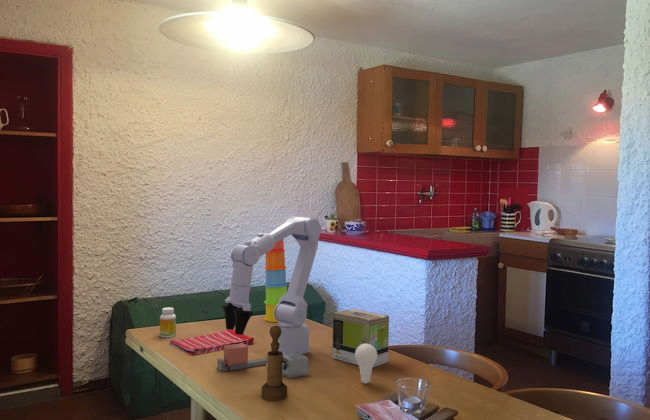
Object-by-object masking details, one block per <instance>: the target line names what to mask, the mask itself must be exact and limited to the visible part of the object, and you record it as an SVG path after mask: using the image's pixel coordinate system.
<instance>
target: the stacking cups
mask: <svg viewBox="0 0 650 420" xmlns="http://www.w3.org/2000/svg"><path fill="white" fill-rule="evenodd" d="M269 233H270V232H269ZM269 233H267V234H269ZM284 245H285V243H284V239H282V240H280V241H278V242H276V243H274V247H273V249H272V250H270V251H269V252H267V253H265V266H264V270H265V283H264V287H265V300H264V301H263V302H264V303H263V304H265V316H264V317H263V320H265V322H270V323H277V320H276V319H275V317H274V309H275V307H276V305H277V304H278V303H279V300H280V298H281V297H282V296H283V295H285V294H286V293H287V291H288V287H287V286H289V285H288V283H287V276H286V274H287V273H286V269H287V266H286V261H285V260H286V259H285V258H286V257H285V252H286V250H285V246H284Z"/></svg>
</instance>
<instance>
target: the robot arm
mask: <svg viewBox="0 0 650 420" xmlns="http://www.w3.org/2000/svg"><path fill="white" fill-rule="evenodd" d="M321 232H322V226H321V223H320V221H319V220H318V218H316V217H306V216H297V215H293V216H291V217H290V218H287V219H286V221H285V222H284V223H283V224H281V225H279V226H278V227H276V228H275V229H274V230H273V231H270V232H269V234H268V233H267V232H259V233H257V234H256V236H255V237H254V238H252V239H250V240H247V241H246V242H245V243H244V244H238V245H236V246H235V247H234V248H233V250H232V252H231V253H230V258H231V262H232V273H231V274H232V276H231V282H230V289H229V296H226V298H225V299H224V302H225V304H222V305H221V306H222V310H223V312H224V320H225V328H226V330H229V329H230V330H235V334H238V335H243V334H244V333H245V331H246V327H247V325H248V322H249V321H250V319H251V318H252V316H253V315H254V311H253V310H251V309H252V308H251V307H252V304H251V303H250V301H249V299H250V292H251V286H252V285H251V284H252V280H253V279H252V277H253V271H254V265H256V264H257V263H258V261H259V259H260V258H261V257H262V256H264V255H266V253H267V252H269V251H270V250H272V249H273V247H274V243H276V242H278V241H280V240H282V239H283V240H284V239H285V238H287V237H289V236H292V238H293V239H294V240H295V241H296V242H297V243H298V246H300V248H299V251H298V255H297V258H296V261H295V264H294V267H293V270H292V271H293V272H292V275H291V277H290V281H289V285H288V287H287V293H286V294H285V295H283V296H282V297H281V298H280V300H279V303H278V304H277V305H276V307H275V309H274V317H275V319H276V320H277V322H276V324H277V325H278V326H279V327H280V328H281V335H280V337H279V339H278V343H279V344H280V346H279V350H278V351H281V352H282V353H283V354H289V353H296V352H299V353H301V354H302V355H304V354H310V352H311V351H310V331H309V330H310V329H309V327H308V325H307V324H306V323H305V322H306V319H307V316H308V315H307V314H308V313H307V309H308V303H307V302H306V300H305V298H304V295H305V293H306V292H305V291H306V289H307V285H308V283H309V279H310V275H311V271H312V269H313V264H314V261H315V257H316V255H317V251H318V246H319V239H320V236H321Z"/></svg>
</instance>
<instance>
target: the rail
mask: <svg viewBox="0 0 650 420" xmlns="http://www.w3.org/2000/svg"><path fill="white" fill-rule="evenodd" d="M266 365H267V357H262V358H256V359H248V364H247V368H251V367H253V368H254V367H260V366H266ZM247 368H246V369H247ZM217 370H218V371H219V372H221V373H222V372H223V373H224V372H226V371H227V372H228V371H230V366H227V365H226V364H225V361H224V358H222V357H219V358H217Z"/></svg>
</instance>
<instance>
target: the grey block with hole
mask: <svg viewBox="0 0 650 420" xmlns="http://www.w3.org/2000/svg"><path fill="white" fill-rule="evenodd" d="M282 363H286V368H282V376H284V377H286V378H287V379H294V378H299V377H304V376H306V377H307V376H308V375H309V374H308V373H309V357H308V356H306V355H304V354H301V353H299V352H296V353H289V354H283V360H282Z"/></svg>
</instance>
